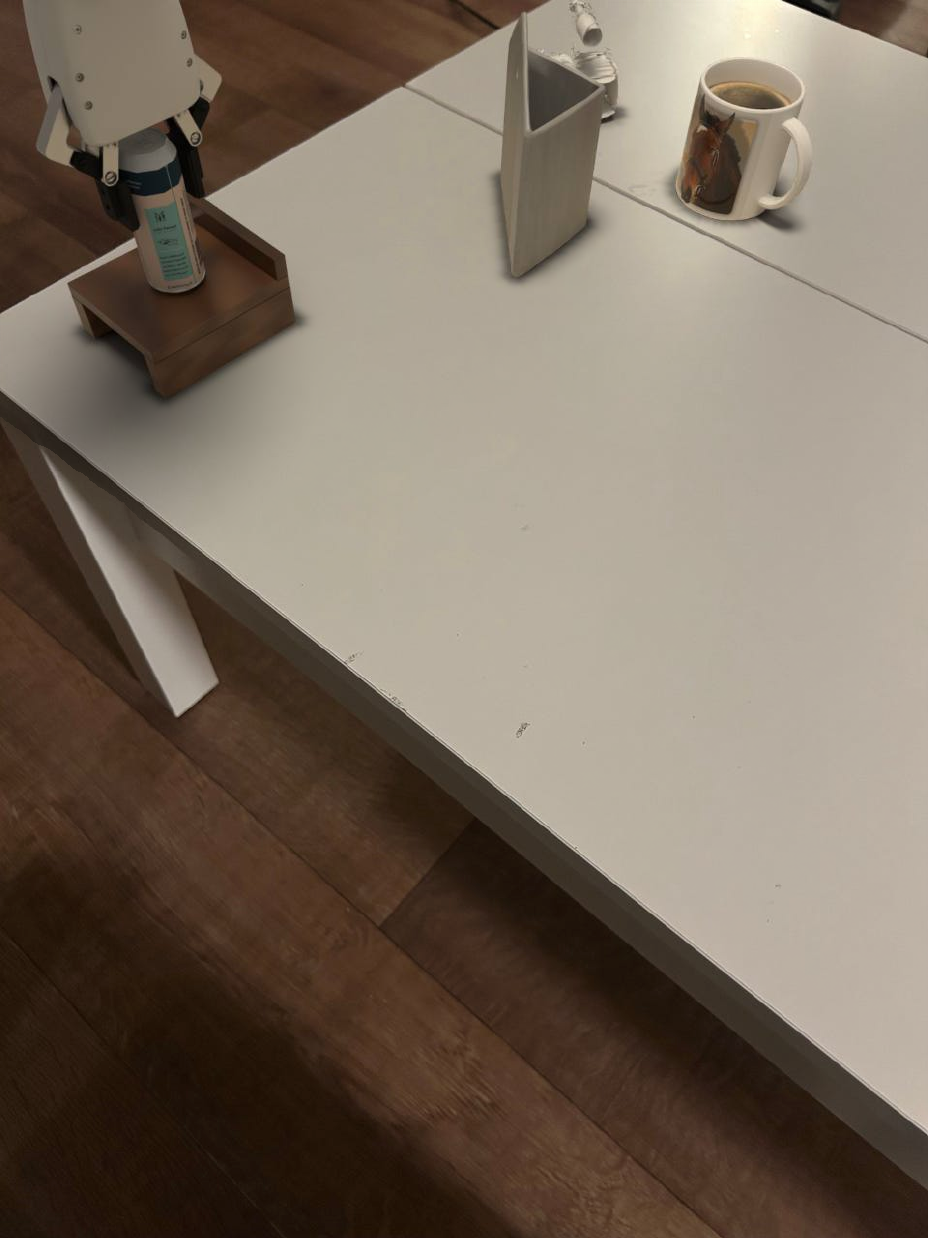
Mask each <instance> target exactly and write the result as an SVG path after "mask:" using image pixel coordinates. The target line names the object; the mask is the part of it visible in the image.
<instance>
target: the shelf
mask: <svg viewBox="0 0 928 1238" xmlns="http://www.w3.org/2000/svg"><path fill="white" fill-rule="evenodd" d="M188 201H189V205H190V209H191V213H192V217H193V222H194V226H195V230H196V234H197V238H198V242H199V247H200V251H201V255H202V259H203V263H204V268H205V275H204V278H203V280H202V281H201V282H200V283H199V284H198V285H197V286H196V287H194V288H192V289H190V290H187V291H184V292H180V293H169V292H162V291H159V290H157V289H155V288H154V287H152V286H151V285H150V284H149V282H148V280H147V277H146V274H145V271H144V267H143V264H142V261H141V257H140V254H139V251H138V247H137V246H136V247H135V248H133V249H131V250H129V251H127V252H124V253H123V254H121V255H119V256H117V257H115V258H113V259H111V260H109V261H107V262H105V263H103V264H101V265H99V266H97V267H95V268H93V269H91V270H89V271H87V272H86V273H84V274H82V275H80V276H78V277H76V278H74V279H72V280H70V281H68V282H67V283H66V284H67V288H68V291H69V293H70V295H71V297H72V301H73V303H74V305H75V308H76V311H77V313H78V316H79V318H80V322H81V324H82V327H83V329H84V331H85V332H86V333H87V334H89V336H91V337H92V338H93V339H95V340H96V339H98V338H100V337H102V336H103V335H106V334H107V333H109V332H111V331H113V330H114V331H115V332H116V333H117V334H118V335H119V336H121V337H122V338H123V339H124V340H126V341H127V342H128V343H129V344H130V345H131V346H133V347H134V348H135V349H136V350H137V351H139V353H141V354H142V355H143V357H144V360H145V362H146V366H147V369H148V371H149V375H150V378H151V380H152V384H153V387H154V390H155V391H156V392H157V393H159V395H160V396H161V397H163V398H164V399H165V400H168V399H170V398H171V397H173V396H175V395H177V394H178V393H180V392H181V391H183V390H185V389H186V388H188V387H190V386H191V385H193V384H195V383H196V382H198V381H200V380H201V379H203V378H205V377H206V376H208V375H210V374H211V373H213V372H215V371H217V370H218V369H220V368H221V367H223V366H225V365H226V364H228V363H230V362H232V361H233V360H235V359H237V358H238V357H240V356H242V355H244V354H245V353H246V352H248V351H250V350H251V349H254V348H255V347H257V346H258V345H260V344H262V343H263V342H265V341H266V340H268V339H270V338H272V337H273V336H275V335H277V334H278V333H280V332H282V331H283V330H285V329H287V328H289V327H290V326H292V325H293V324H295V323H296V317H295V309H294V303H293V297H292V296H293V295H292V290H291V286H290V279H289V278H290V277H289V272H288V264H287V257H286V254H285V253H283V252H282V251H280V250H279V249H278V248H276V246H273V244H271V243H269V242H268V241H266V240H265V239H264V238H262V237H261V236H259V235H258V234H256V233H255V232H253V231H252V230H251V229H249V228H248V227H246V226H245V225H244V224H242V223H240V222H239V221H238V220H237V219H235V218H233V216H231V215H229V214H227V213H226V212H225V211H223V210H222V209H220V207H218V206H216V205H214V204H213V203H212V202H211V201H209V200H207V199H206V198H205V197H202V198H200V199H198V198H194V197H193V196H192V195H190V196H188Z"/></svg>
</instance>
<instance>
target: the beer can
mask: <svg viewBox="0 0 928 1238" xmlns="http://www.w3.org/2000/svg"><path fill="white" fill-rule="evenodd" d="M165 134H166V133H165V132H164V131H162V129H161V128H157V127H153V126H150V127H148V128H146V129H144V130H141V131H139V132H137V133H135V134H132V135H130V136H128V137H125V138H123V139H121V140H119V141H118V174H119V176H120V177H121V178H123V179H124V180H126V182H127V183H128V185H129V188H130V192H131V195H132V199H133V202H134V205H135V209H136V212H137V216H138V219H139V222H140V227H139V229H138V230H136V231H134V232H132V234H133V238H134V240H135V244H136V248H137V247H138V251H139V254H140V257H141V261H142V264H143V267H144V271H145V274H146V277H147V280H148V282H149V284H150V285H151V286H152V287H154V288H155V289H157V290H159V291H162V292H169V293H180V292H184V291H187V290H190V289H192V288H194V287H196V286H197V285H198V284H199V283H200V282H201V281H202V280H203V278H204V275H205V268H204V263H203V259H202V255H201V251H200V247H199V242H198V238H197V234H196V230H195V226H194V222H193V217H192V213H191V209H190V205H189V201H188V198H189V196H188V193H187V192H186V188H185V184H184V180H183V176H182V171H181V167H180V163H179V159H178V155H177V151H176V148H175V146H174V144H173V143H172V142H171V141H170V140H169V139H168V137H167V136H166V135H165Z"/></svg>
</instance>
